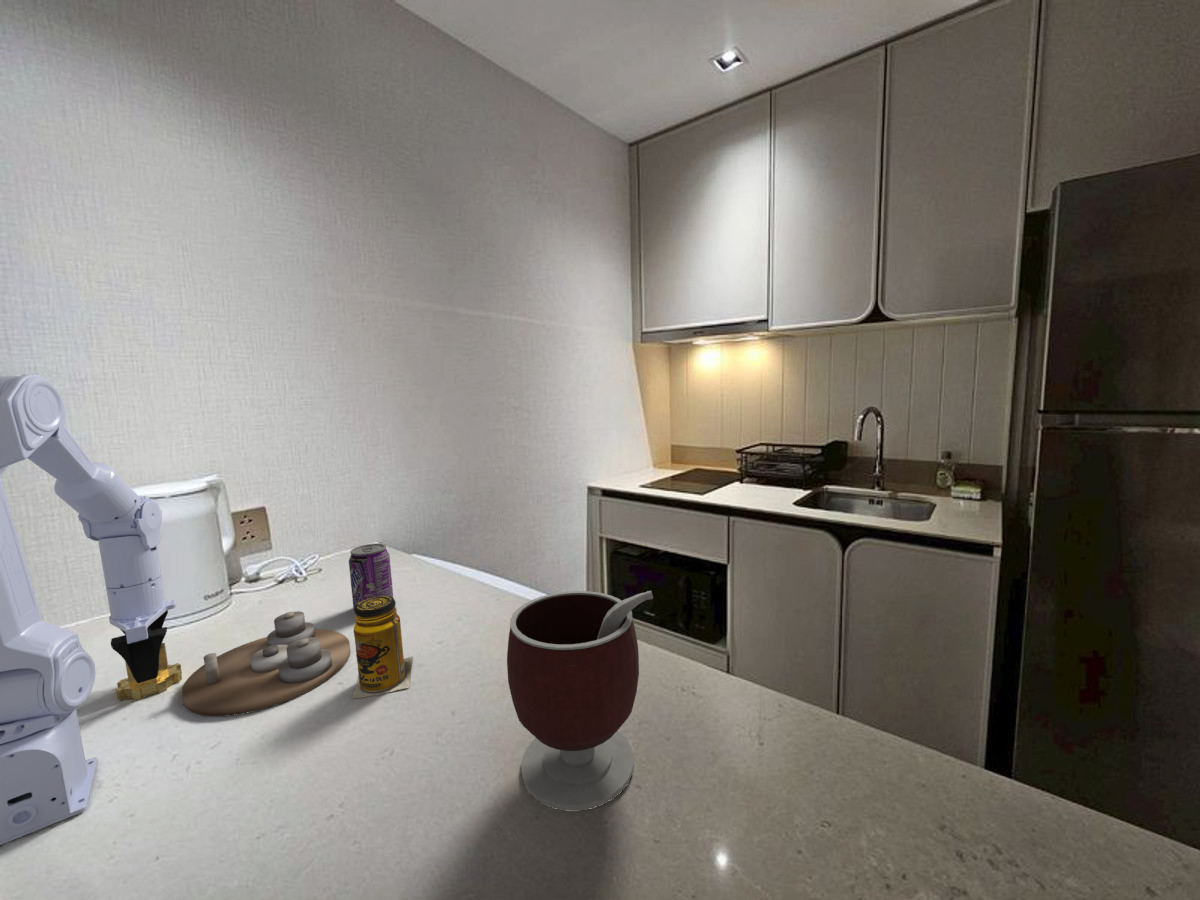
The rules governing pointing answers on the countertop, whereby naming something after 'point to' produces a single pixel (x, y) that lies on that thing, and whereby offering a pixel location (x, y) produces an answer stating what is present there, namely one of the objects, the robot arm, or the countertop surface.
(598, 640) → the mate gourd
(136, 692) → the brass gear
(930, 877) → the countertop surface
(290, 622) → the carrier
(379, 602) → the condiment
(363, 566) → the beverage can
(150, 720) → the countertop surface
